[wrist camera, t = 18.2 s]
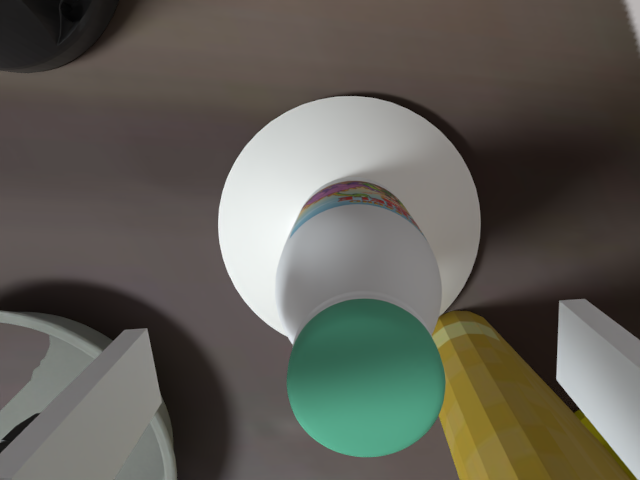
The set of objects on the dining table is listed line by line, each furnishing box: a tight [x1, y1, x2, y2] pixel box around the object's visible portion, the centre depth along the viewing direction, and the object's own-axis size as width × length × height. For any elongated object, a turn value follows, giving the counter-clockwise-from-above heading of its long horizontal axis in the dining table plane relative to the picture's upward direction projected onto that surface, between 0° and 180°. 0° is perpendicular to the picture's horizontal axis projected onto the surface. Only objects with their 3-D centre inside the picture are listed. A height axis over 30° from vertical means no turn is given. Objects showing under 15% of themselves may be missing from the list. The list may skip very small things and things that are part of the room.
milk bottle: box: [275, 177, 446, 457], centre depth 23 cm, size 8×8×20 cm
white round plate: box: [218, 96, 481, 337], centre depth 33 cm, size 18×18×1 cm
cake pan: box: [0, 310, 177, 480], centre depth 37 cm, size 25×25×4 cm
